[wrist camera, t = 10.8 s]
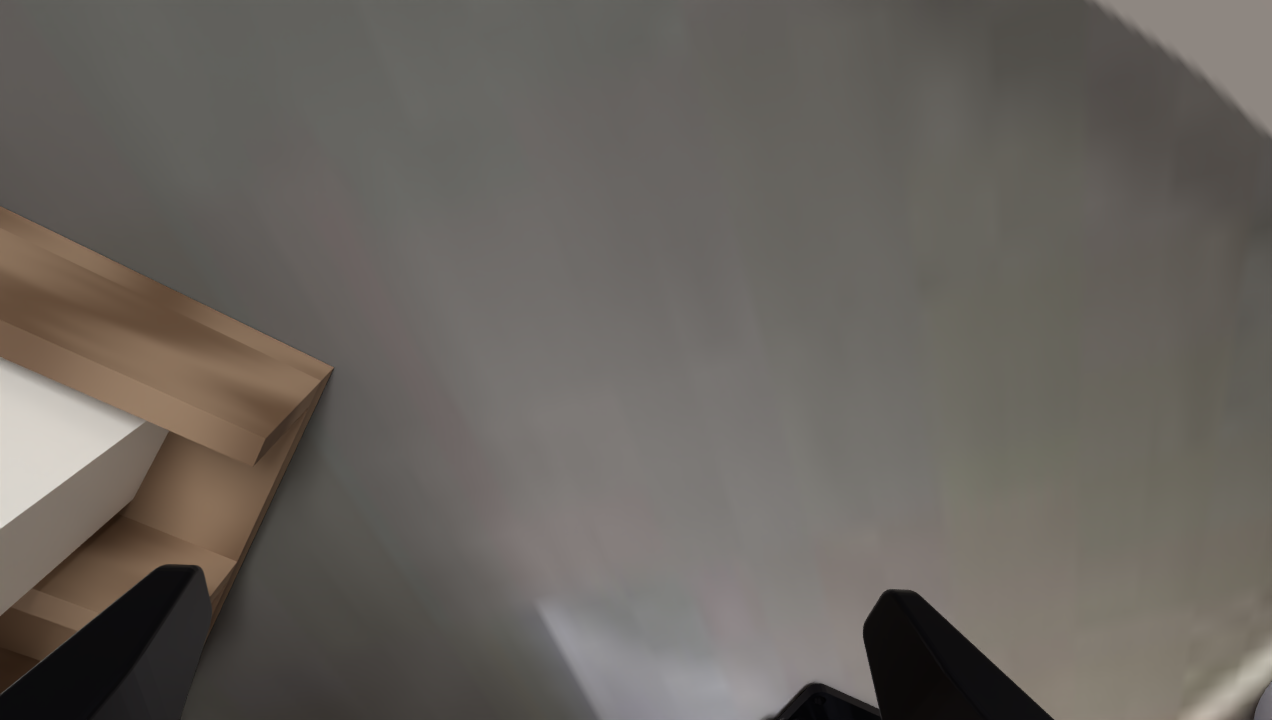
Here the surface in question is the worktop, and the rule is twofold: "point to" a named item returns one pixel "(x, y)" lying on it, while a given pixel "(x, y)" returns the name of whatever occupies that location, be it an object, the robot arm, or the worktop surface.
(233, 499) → the comb rack
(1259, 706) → the wedge on round base
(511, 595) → the worktop surface
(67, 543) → the grey piece
